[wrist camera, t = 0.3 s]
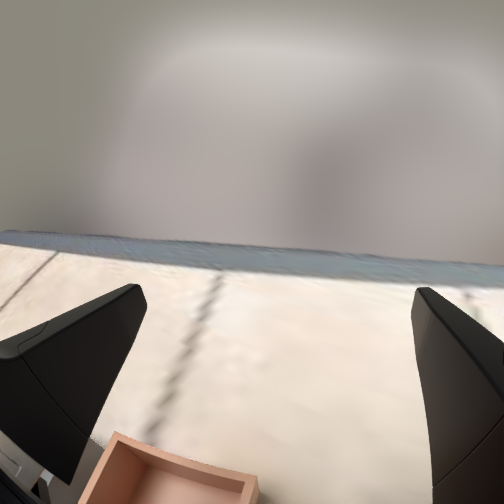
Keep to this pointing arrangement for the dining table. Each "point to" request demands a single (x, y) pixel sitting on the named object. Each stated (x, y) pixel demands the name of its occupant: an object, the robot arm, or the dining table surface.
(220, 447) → the dining table surface
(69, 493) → the big crate
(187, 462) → the small crate
